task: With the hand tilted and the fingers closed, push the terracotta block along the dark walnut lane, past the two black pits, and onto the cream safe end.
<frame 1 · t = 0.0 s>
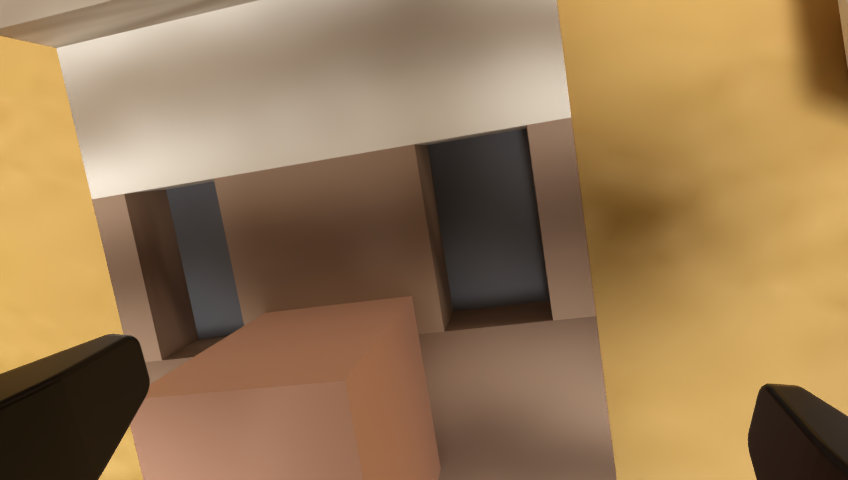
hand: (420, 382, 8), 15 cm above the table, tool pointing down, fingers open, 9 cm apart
block: (352, 390, 22), point 3 cm above the table, touching brown piece
brown piece: (361, 297, 25), on the table
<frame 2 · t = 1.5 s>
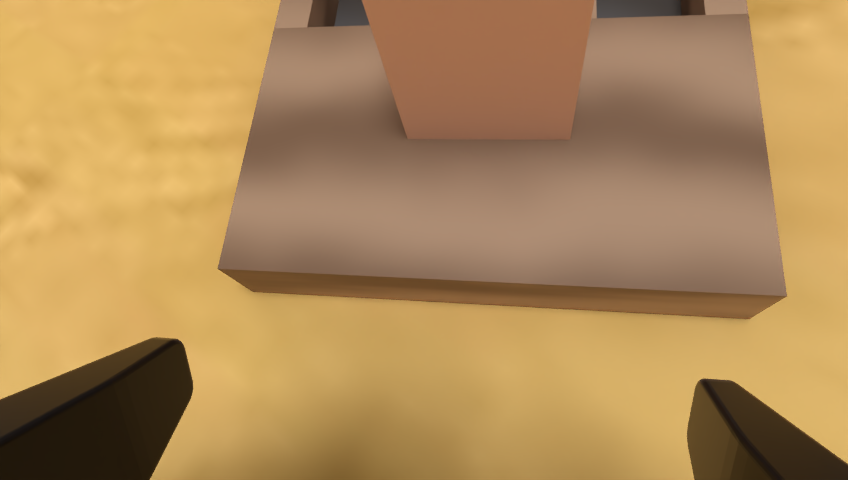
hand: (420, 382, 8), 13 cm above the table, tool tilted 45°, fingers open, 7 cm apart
block: (491, 62, 22), point 3 cm above the table, touching brown piece
brown piece: (497, 51, 26), on the table
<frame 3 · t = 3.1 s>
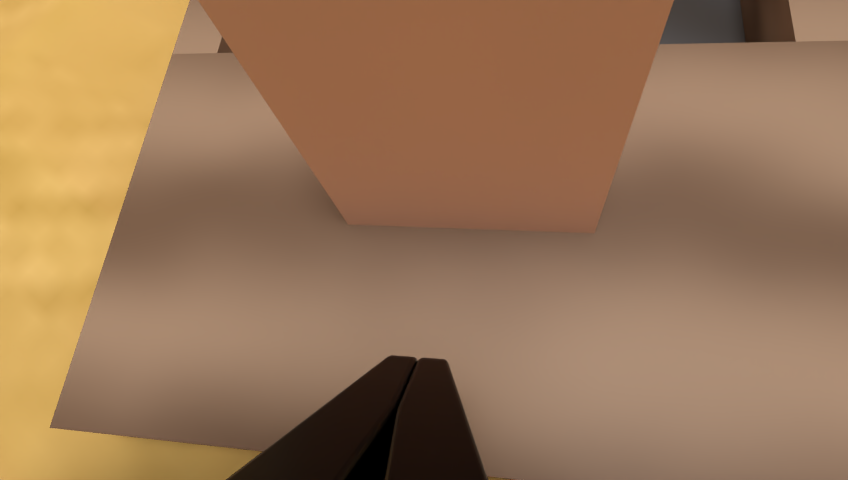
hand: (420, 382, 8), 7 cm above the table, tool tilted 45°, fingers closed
block: (476, 108, 15), point 3 cm above the table, touching brown piece
brown piece: (487, 85, 19), on the table
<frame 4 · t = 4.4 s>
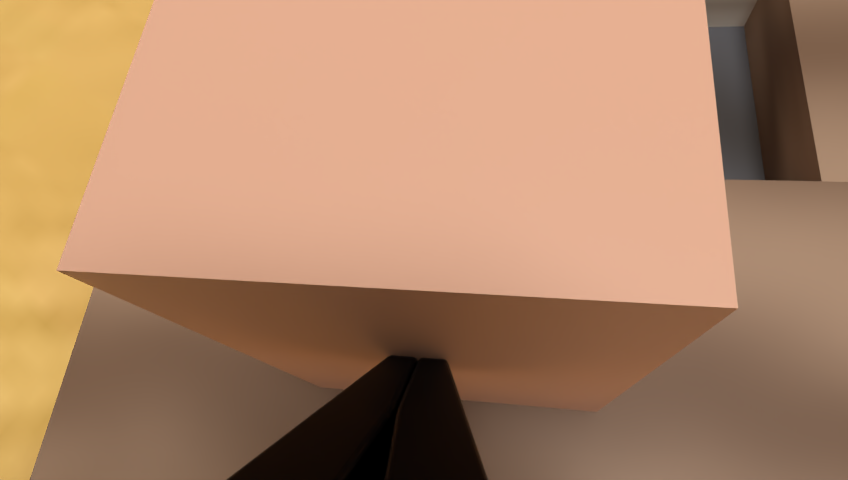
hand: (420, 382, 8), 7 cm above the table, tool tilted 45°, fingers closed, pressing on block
block: (464, 248, 13), point 3 cm above the table, touching gripper, brown piece
brown piece: (479, 193, 17), on the table
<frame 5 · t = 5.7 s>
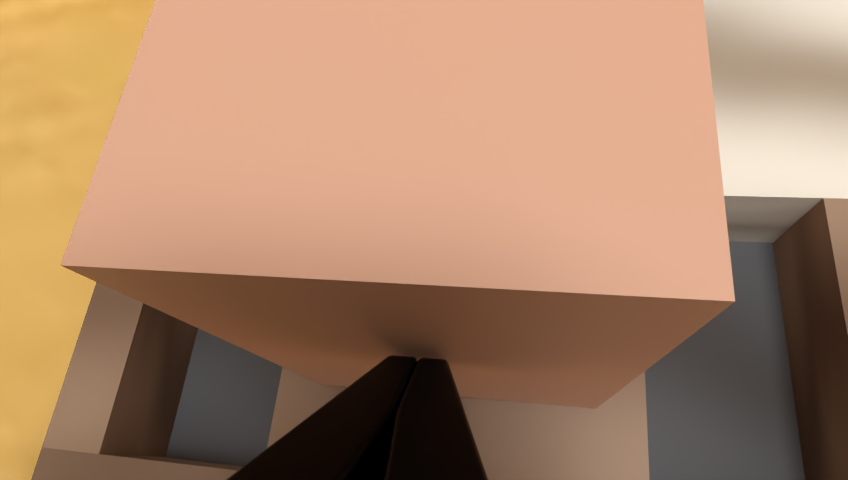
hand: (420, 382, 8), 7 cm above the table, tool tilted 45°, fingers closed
block: (464, 246, 13), point 3 cm above the table
brown piece: (461, 448, 15), on the table
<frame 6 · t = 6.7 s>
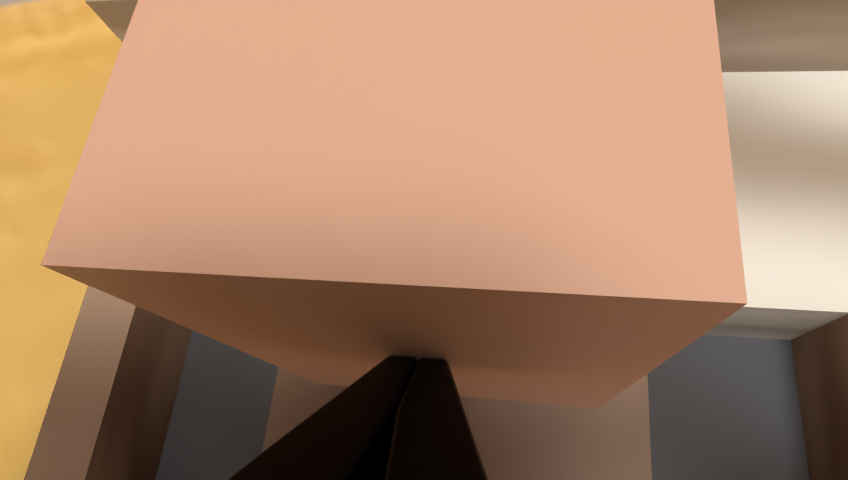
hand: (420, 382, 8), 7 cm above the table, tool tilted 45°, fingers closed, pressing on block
block: (464, 243, 13), point 3 cm above the table, touching gripper, brown piece
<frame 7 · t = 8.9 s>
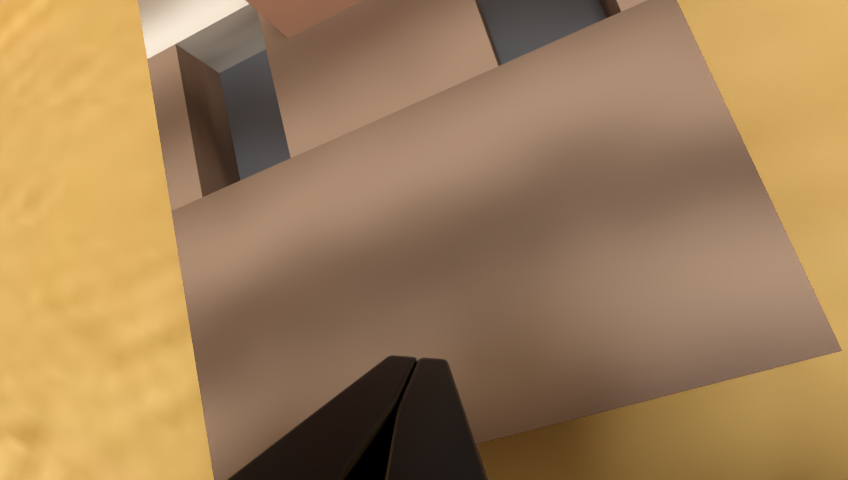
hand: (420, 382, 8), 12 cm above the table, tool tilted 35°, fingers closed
brown piece: (412, 121, 22), on the table
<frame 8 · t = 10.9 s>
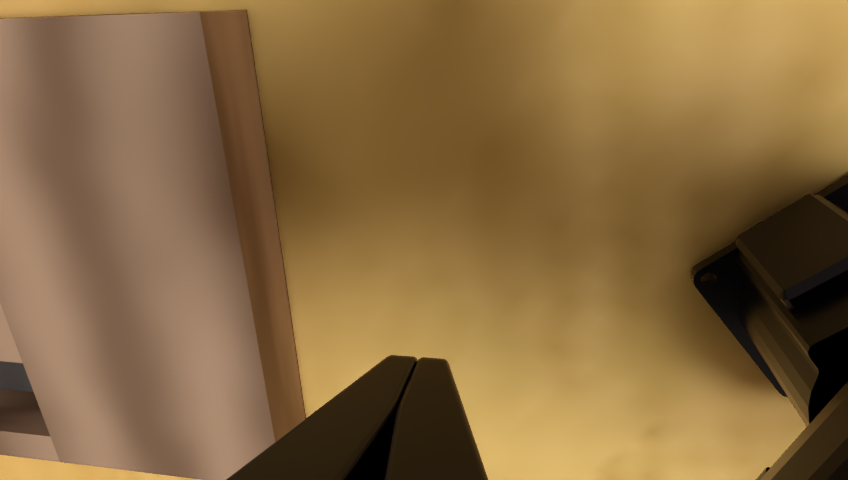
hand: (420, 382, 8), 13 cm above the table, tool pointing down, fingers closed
brown piece: (30, 247, 25), on the table
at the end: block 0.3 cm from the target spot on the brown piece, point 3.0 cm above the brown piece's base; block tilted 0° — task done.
